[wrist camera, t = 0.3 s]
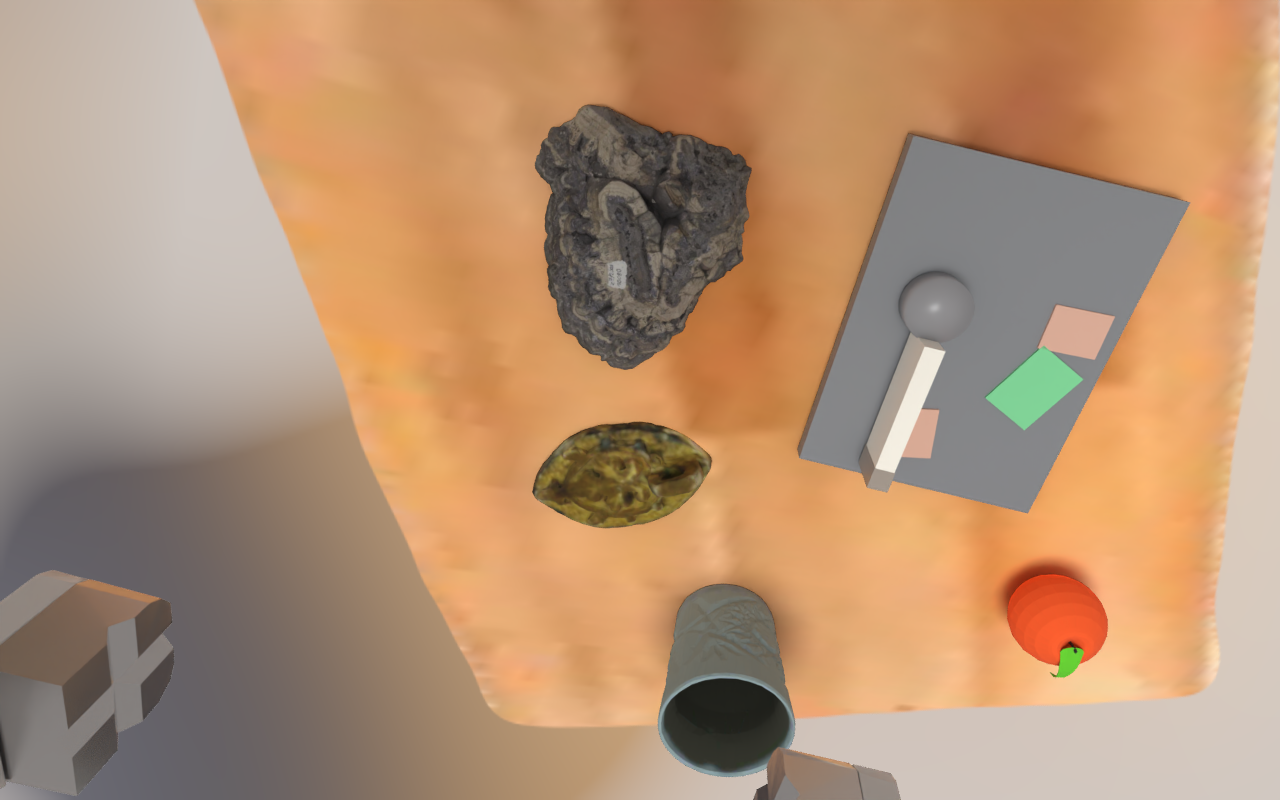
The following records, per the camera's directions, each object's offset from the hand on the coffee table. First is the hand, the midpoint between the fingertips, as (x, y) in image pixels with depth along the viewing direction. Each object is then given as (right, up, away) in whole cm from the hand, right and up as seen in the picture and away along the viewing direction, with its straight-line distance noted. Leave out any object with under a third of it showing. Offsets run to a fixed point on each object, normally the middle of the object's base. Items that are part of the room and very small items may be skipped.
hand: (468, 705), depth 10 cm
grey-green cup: (+10, -15, +57) cm, 60 cm away
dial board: (+26, +9, +44) cm, 52 cm away
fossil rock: (+3, +15, +45) cm, 47 cm away
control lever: (+21, +6, +44) cm, 49 cm away
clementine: (+35, -12, +53) cm, 65 cm away
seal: (+1, -2, +53) cm, 53 cm away
